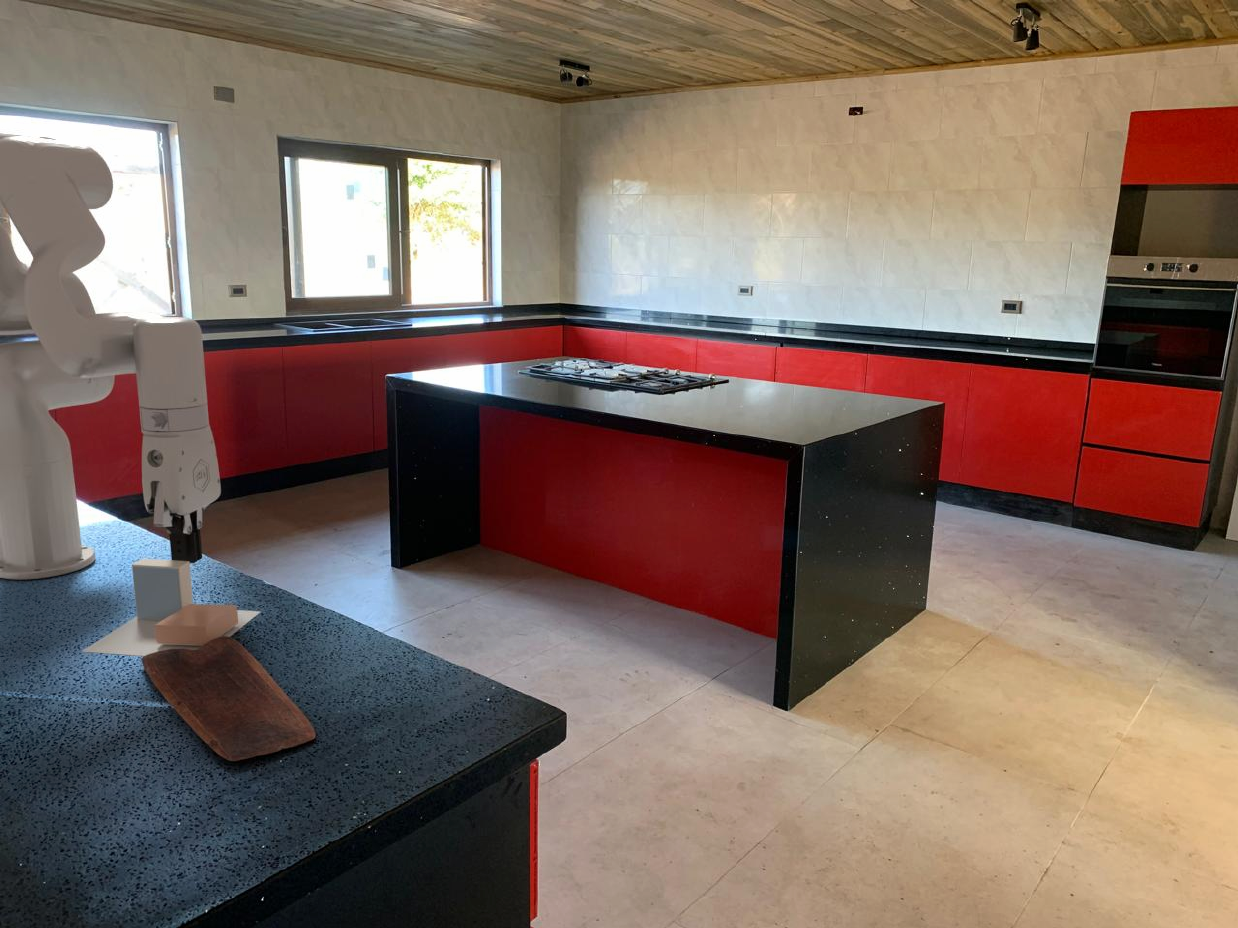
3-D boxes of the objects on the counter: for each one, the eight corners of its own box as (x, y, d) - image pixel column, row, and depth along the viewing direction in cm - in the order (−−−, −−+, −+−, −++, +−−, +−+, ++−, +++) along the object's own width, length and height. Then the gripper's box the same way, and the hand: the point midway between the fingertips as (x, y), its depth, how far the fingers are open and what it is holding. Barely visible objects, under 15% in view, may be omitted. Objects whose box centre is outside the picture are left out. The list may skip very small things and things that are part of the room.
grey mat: (81, 654, 101) (81, 651, 101) (155, 607, 115) (155, 604, 115) (200, 663, 100) (200, 659, 100) (261, 614, 114) (260, 611, 114)
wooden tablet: (325, 725, 85) (213, 749, 78) (323, 748, 85) (212, 772, 79) (232, 630, 104) (136, 642, 98) (231, 649, 105) (135, 662, 98)
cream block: (136, 619, 110) (130, 564, 109) (147, 611, 113) (142, 558, 111) (183, 622, 110) (178, 567, 108) (193, 614, 112) (189, 561, 110)
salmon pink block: (191, 622, 110) (157, 644, 103) (189, 603, 109) (155, 624, 102) (238, 624, 109) (207, 646, 102) (236, 605, 109) (205, 626, 102)
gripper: (169, 431, 104) (183, 582, 108) (234, 410, 118) (244, 544, 122) (107, 429, 104) (123, 579, 108) (179, 408, 119) (191, 541, 123)
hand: (187, 560), depth 115 cm, fingers closed
